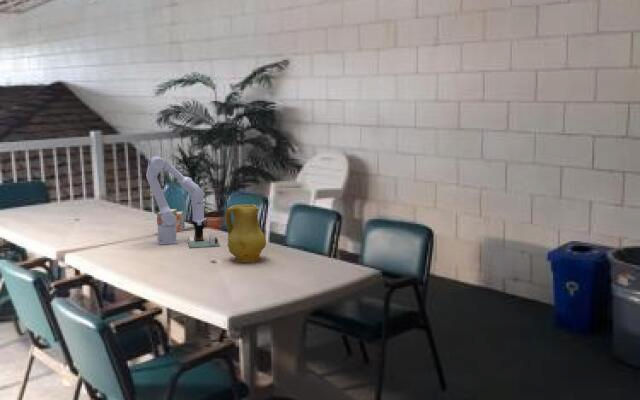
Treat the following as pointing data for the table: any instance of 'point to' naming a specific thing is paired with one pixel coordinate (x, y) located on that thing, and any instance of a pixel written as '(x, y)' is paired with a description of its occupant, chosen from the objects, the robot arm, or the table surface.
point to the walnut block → (196, 236)
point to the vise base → (201, 243)
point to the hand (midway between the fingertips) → (198, 236)
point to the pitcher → (244, 233)
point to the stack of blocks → (179, 219)
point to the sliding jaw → (212, 239)
